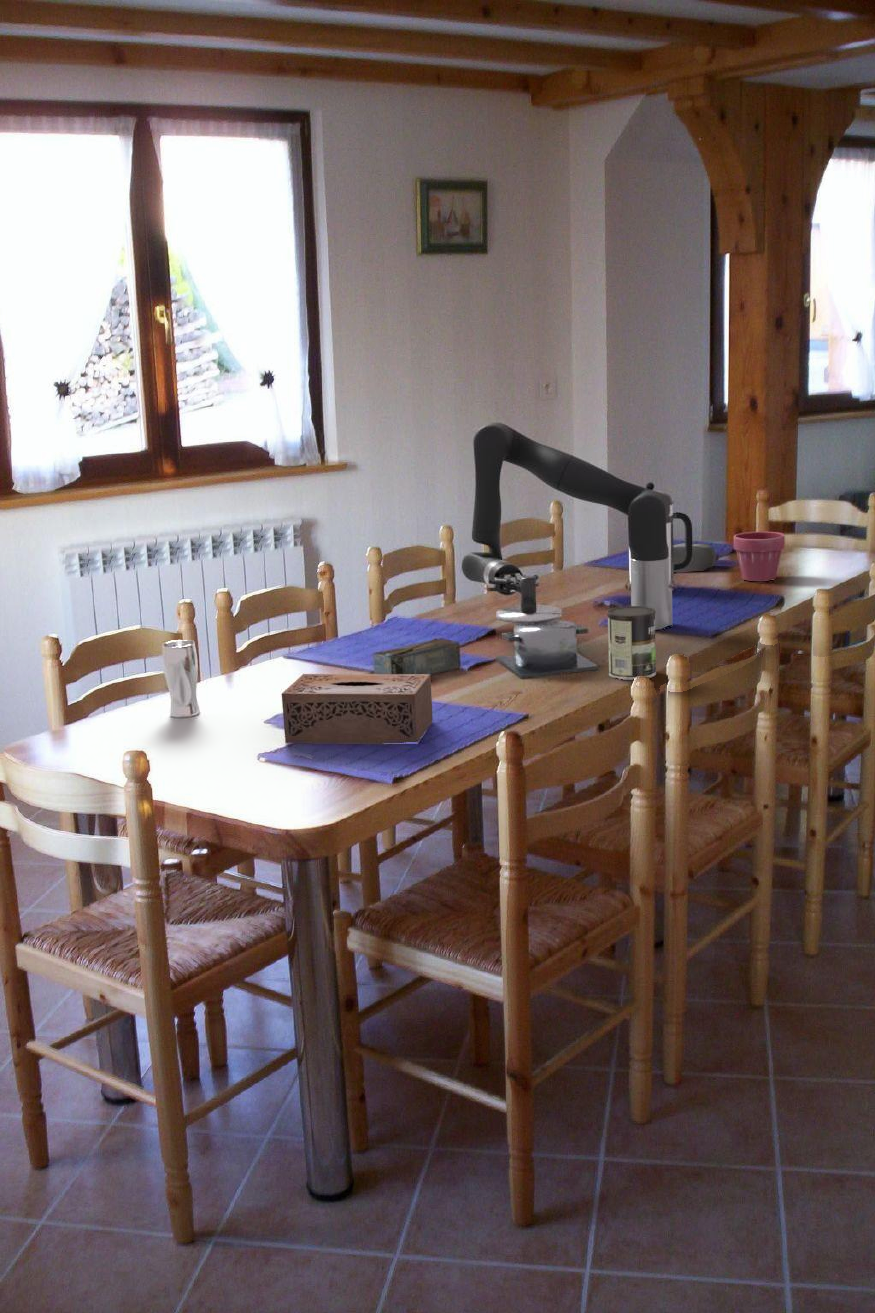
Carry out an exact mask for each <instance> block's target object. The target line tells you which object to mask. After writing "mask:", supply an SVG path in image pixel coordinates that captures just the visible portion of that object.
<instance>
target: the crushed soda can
mask: <svg viewBox="0 0 875 1313" xmlns="http://www.w3.org/2000/svg"><path fill="white" fill-rule="evenodd" d="M161 646H162V666H163V667H162V668H163V673H164V678H165V681H166V685H167V689H168V691H169V695H170V710H169V713H170V716H171V717H172V718H177V719H184V718H185V719H187V718H191V717H196V716H198V715H199V714H200V713H201V710H200V706H199V703H198V702H199V701H198V698H197V687H198V686H197V685H198V674H199V673H198V672H199V666H198V663H199V662H198V655H197V650H196V649H197V648H196V644H195V641H194V640H192V639H178V640H177V639H176V640H170V641H167V642H164V643H162V645H161Z"/></svg>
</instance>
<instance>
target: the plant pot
mask: <svg viewBox="0 0 875 1313" xmlns="http://www.w3.org/2000/svg"><path fill="white" fill-rule="evenodd" d="M785 542H786V541H785V535H784V533H782V532H777V531H776V532H775V531H749V532H748V531H747V532H741V533H737V534H734V535H733V549H734V550H735V551H736V554H737V560H738V564H739V569H740V573H741V578H742V580H743V579H746V580H754V581H765V580H771V579H774V578H776V579H777V574H778V569H779V564H780V558H781V555H782V554H781V553H782V550H783V549H785V545H786V543H785Z"/></svg>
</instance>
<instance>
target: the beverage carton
mask: <svg viewBox="0 0 875 1313" xmlns="http://www.w3.org/2000/svg"><path fill="white" fill-rule="evenodd" d="M372 658H373V674H430V676H432V675H436V674H440V673H443V672H449V671H453V670H458V669H460V667H462V666H461V664H462V663H461V650H460V642H458V641H453V640H450V639H447V638H442V637H440V638H433V639H431V640H427V641H424V642H423V641H422V642H419V643H414V644H410V645H406V646H402V647H396V648H393V649H392V648H391V649H388V650H381V651H378V652H377V651H376V652H374V653H372Z"/></svg>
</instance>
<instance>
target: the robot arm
mask: <svg viewBox="0 0 875 1313" xmlns="http://www.w3.org/2000/svg"><path fill="white" fill-rule="evenodd" d="M472 440H473V444H472V445H473V456H474V457H473V459H474V467H475V468H474V471H475V474H474V476H475V479H474V480H475V483H474V484H475V489H474V506H473V513H472V514H473V516H472V517H473V518H472V527H471V528H472V529H471V539H472V541H473V542H474V543H476V544H480V545H484V546H487V547H488V550H489V551H488V552H483V551H482V552H479V551H478V552H476V551H473V552H472V551H471V552H469V553H467V554H466V555H465V556H464V557H463V559H462V562H461V570H462V571H461V572H462V574H463V575H464V577H465V578H466V579H467V580H469V581H472V582H476V583H482V584H485V585H487V586H488V591H489V592H497V593H499V594H500V595H503V596H511V595H514V594H515V593H520V577H523V576H527V575H524V574H523V573H522V571H521V569H520V568H519V567H518V566H516V565H514V564H512V563H510V562H508V561H506V560H504V559H503V554H502V549H501V540H500V538H501V536H500V535H501V534H500V533H501V525H502V524H501V522H502V501H501V498H502V497H501V489H500V486H501V485H500V484H501V483H500V481H501V472H502V467H503V463H504V462H507V463H509V464H512V465H515V466H517V467H520V468H521V469H524V470H525V471H528V472H529V473H530V474H532V475H534V476H535V477H536V478H537V479H539V480H541V482H543V483H545V484H546V485H547V486H549V487H550V488H552V489H555V490H556V491H558V492H560V493H562V494H566V495H567V496H569V497H572V498H575V499H578V500H581V501H584V502H589V503H593V504H598V505H601V506H602V505H603V506H606V507H610V508H612V509H614V510H617V511H618V512H620V513H623V514H624V515H626V516H627V526H628V527H627V529H628V530H627V532H628V533H627V534H628V549H629V548H630V555H631V583H630V587H631V588H630V604H631V605H630V606H642V607H649V608H652V609H654V610H655V631H656V630H663V628H664V629H666V628H665V627H667V626H668V625H672V626H673V591H672V589H671V588H669V586H670V585H669V559H668V557H669V549H668V545H667V531H666V520H667V519H668V517H669V514H670V505H669V502H668V501H667V499H666V498H665V497H664V496H663V495H662V494H661V493H659V492H657V491H658V490H654V489H653V490H650V489H647V488H646V487H643V486H641V485H637V484H634V483H632V482H629V481H626V480H624V479H621V478H619V477H617V476H616V475H613V474H612V473H610V472H607V471H606V470H604V469H603V468H600V467H598V466H596V465H594V464H592V463H590V462H588V461H585V460H584V459H581V458H579V457H578V456H575V455H573V454H570V453H568V452H565V451H562V450H559V449H557V448H555V447H552V446H549V445H545V444H544V443H543V444H542V443H540V442H538V441H535V440H533V439H531V438H530V437H528V436H525V435H524V434H522V433H521V432H519V431H517V430H515V429H514V428H512V427H511V426H509V425H507V424H506V423H502V422H491V423H488V424H485V425H482V426H481V427H479V428H478V430H477V431H476V432H475V434H474V436H473V439H472ZM533 576H534V577H536V588H537V587H539V575H537V574H535V575H533ZM667 628H668V627H667Z"/></svg>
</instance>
